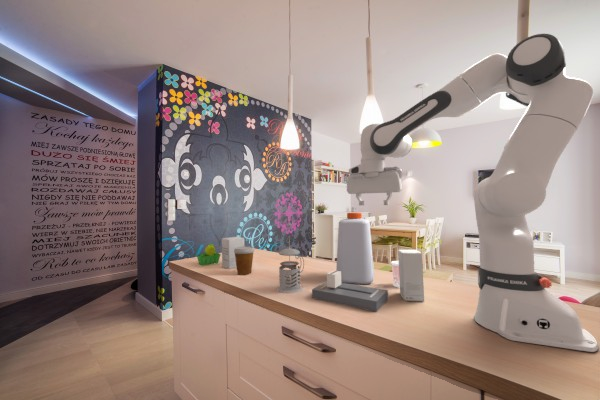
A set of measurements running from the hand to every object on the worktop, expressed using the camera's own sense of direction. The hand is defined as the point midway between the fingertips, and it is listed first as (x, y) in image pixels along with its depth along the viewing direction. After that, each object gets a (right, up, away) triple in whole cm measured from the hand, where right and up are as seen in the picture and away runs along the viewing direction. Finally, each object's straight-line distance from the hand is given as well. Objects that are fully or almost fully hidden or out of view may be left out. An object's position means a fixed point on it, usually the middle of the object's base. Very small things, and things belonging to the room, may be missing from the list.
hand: (373, 205), depth 99 cm
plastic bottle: (-4, -32, +12) cm, 34 cm away
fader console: (-11, -31, -11) cm, 35 cm away
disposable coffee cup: (-54, -33, +24) cm, 67 cm away
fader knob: (-16, -28, -8) cm, 33 cm away
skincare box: (+10, -31, -10) cm, 34 cm away
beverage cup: (+11, -31, +2) cm, 33 cm away
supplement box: (-62, -33, +38) cm, 80 cm away
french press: (-31, -32, +1) cm, 44 cm away
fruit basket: (-78, -33, +46) cm, 96 cm away
